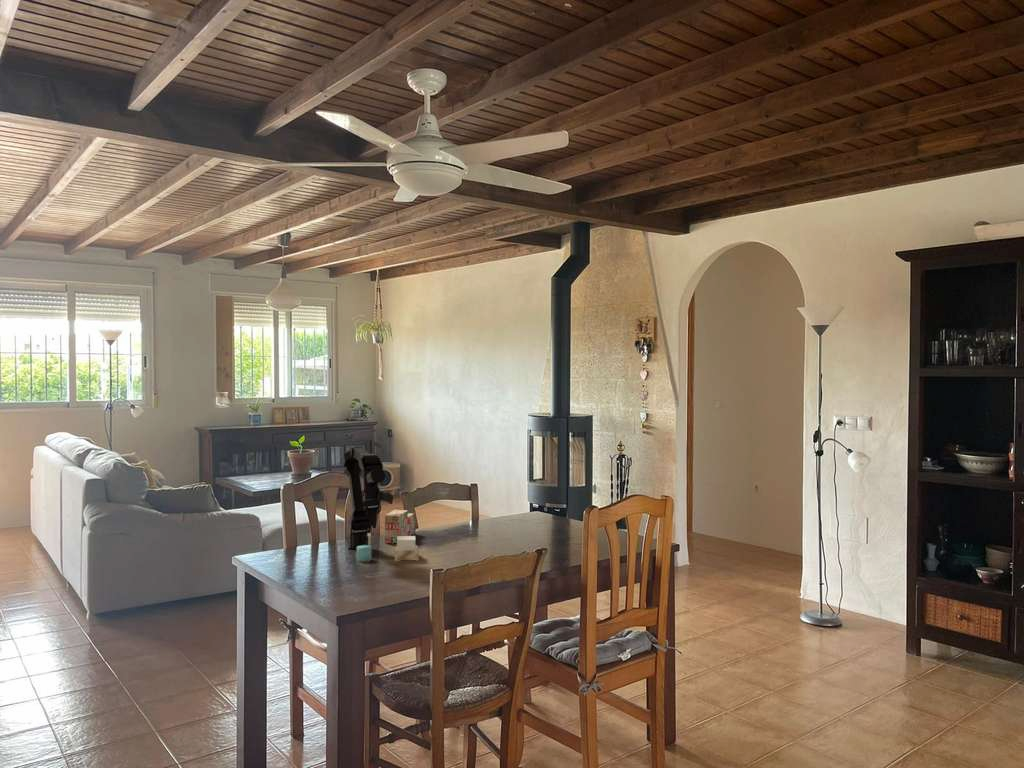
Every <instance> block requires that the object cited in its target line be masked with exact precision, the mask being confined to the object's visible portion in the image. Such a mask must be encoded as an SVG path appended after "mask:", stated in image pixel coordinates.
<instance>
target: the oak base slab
mask: <svg viewBox="0 0 1024 768" xmlns="http://www.w3.org/2000/svg"><path fill="white" fill-rule="evenodd" d="M393 552H394V553H393V557H395V558H394V561H395V562H401V561H400V560H416V561H419V560H420V550H419V547H418V545H415V550H405V551H397V545H396V546H395V545H394V546H393Z"/></svg>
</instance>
